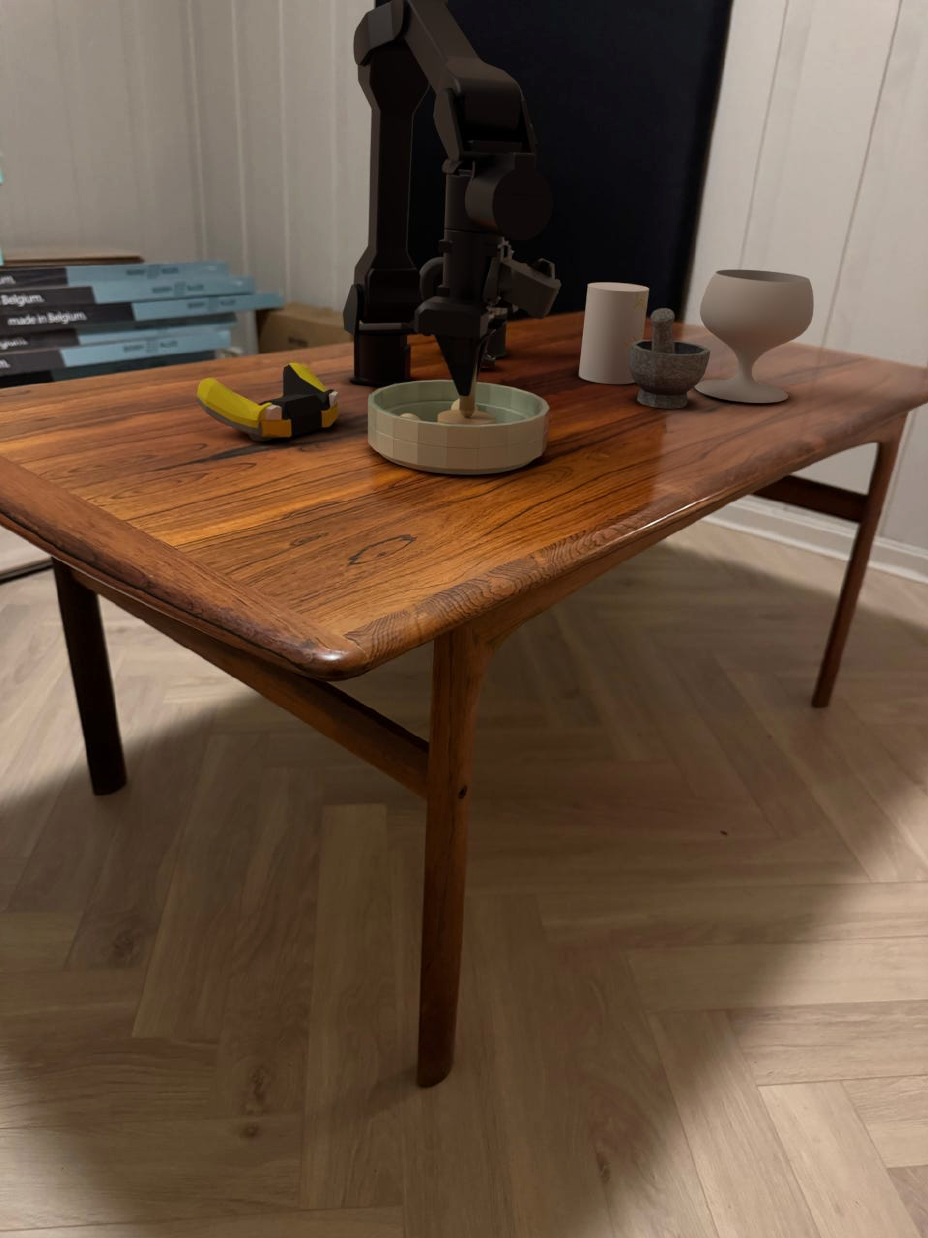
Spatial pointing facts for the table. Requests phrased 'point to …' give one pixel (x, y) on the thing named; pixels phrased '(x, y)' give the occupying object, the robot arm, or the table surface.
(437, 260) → the milk frother
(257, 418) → the gaming controller
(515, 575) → the table surface
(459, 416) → the stirrer
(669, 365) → the mortar and pestle
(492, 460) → the bowl
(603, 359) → the tall cream tube
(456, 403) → the dumpling
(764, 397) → the chalice
